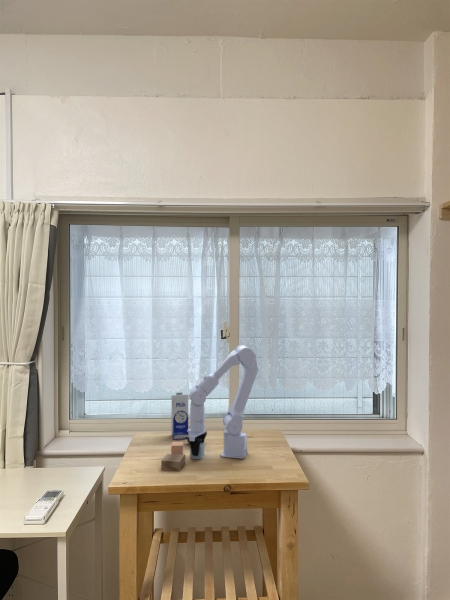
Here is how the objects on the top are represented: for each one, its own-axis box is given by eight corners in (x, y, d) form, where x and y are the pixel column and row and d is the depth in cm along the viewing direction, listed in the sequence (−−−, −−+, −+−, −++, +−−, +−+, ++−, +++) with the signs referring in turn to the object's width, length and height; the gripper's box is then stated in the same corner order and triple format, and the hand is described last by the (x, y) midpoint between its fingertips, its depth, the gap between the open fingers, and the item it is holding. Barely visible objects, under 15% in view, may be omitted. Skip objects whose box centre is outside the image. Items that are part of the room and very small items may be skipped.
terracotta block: (183, 453, 174) (183, 441, 174) (182, 458, 169) (182, 445, 169) (172, 454, 174) (172, 441, 174) (171, 458, 169) (171, 445, 169)
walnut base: (184, 464, 164) (184, 454, 164) (179, 471, 157) (179, 461, 157) (167, 462, 166) (167, 453, 166) (161, 469, 159) (161, 460, 159)
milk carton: (172, 439, 191) (172, 395, 190) (171, 434, 197) (171, 391, 197) (188, 438, 192) (188, 394, 192) (186, 433, 199) (186, 390, 199)
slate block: (204, 455, 172) (204, 442, 172) (201, 459, 168) (201, 446, 168) (193, 454, 173) (193, 441, 173) (190, 458, 169) (190, 445, 169)
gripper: (193, 413, 179) (193, 446, 179) (181, 423, 164) (181, 459, 165) (209, 414, 177) (209, 447, 177) (199, 425, 163) (199, 460, 163)
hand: (197, 453), depth 171 cm, fingers closed on slate block, 4 cm apart
